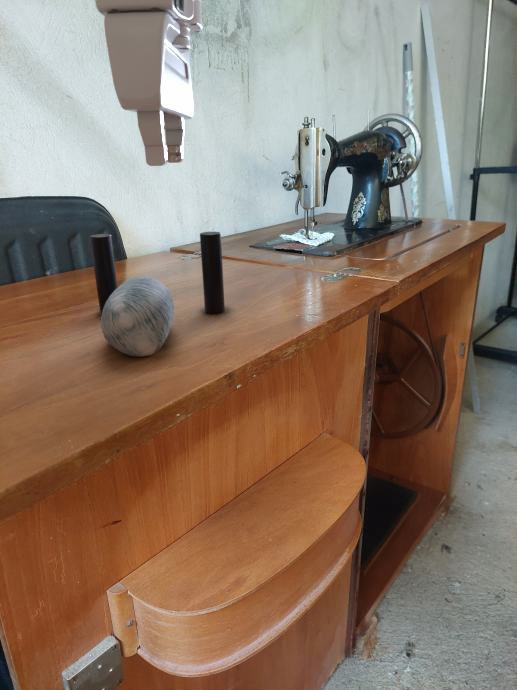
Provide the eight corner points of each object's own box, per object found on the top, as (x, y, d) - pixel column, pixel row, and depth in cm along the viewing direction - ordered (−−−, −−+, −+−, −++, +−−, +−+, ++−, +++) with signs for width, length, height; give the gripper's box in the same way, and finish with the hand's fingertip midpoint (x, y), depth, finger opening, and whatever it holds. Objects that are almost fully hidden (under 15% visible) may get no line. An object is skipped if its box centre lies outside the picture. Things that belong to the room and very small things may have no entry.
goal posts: (98, 317, 78) (86, 237, 73) (104, 311, 80) (93, 234, 76) (223, 315, 77) (219, 234, 73) (225, 309, 80) (221, 231, 75)
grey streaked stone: (128, 332, 74) (84, 279, 68) (185, 299, 73) (146, 243, 67) (132, 392, 63) (81, 336, 57) (200, 354, 62) (155, 293, 56)
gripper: (146, 32, 59) (157, 161, 64) (85, -22, 40) (108, 168, 44) (201, 30, 58) (208, 160, 63) (167, -25, 39) (180, 167, 44)
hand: (167, 164), depth 54 cm, fingers open, 8 cm apart
